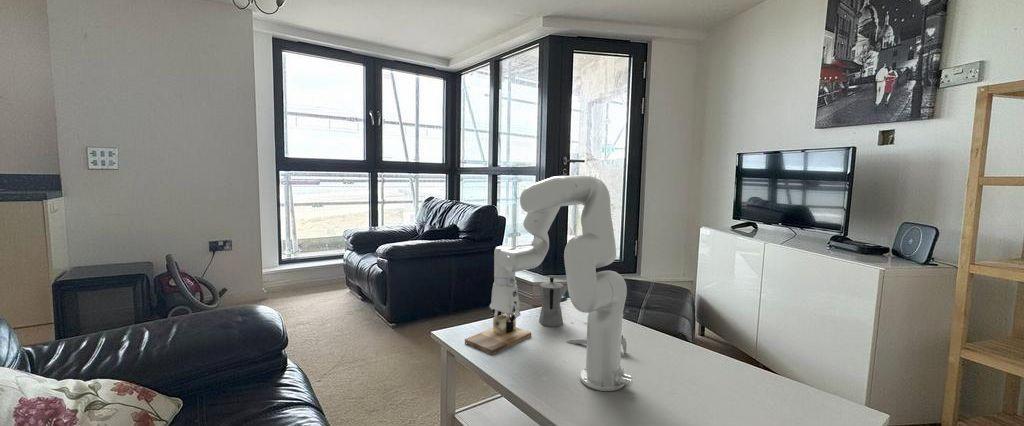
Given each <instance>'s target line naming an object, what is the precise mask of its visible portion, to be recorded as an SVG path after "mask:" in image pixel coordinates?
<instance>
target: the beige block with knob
mask: <svg viewBox="0 0 1024 426" xmlns="http://www.w3.org/2000/svg"><path fill="white" fill-rule="evenodd" d="M510 317H511V314H510ZM516 319H517V318H516ZM516 319H515V320H514V321H513V330H515V329H516V327H517V326H516V324H517V323H516ZM506 322H507V315H506V313H502V315H499V316H497V317H492V324H493V326H492V328H493V331H494V332H497V333H499V334H502V335H503V334H505V333H507V332H506Z"/></svg>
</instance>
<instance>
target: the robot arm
mask: <svg viewBox="0 0 1024 426" xmlns="http://www.w3.org/2000/svg"><path fill="white" fill-rule="evenodd" d="M519 204H520V207H521V209H522V210H523V211H524V212H526V216H525V217H524V220H523V222H522V223H523V224H522V225H523V227H524V230H526V232H527V233H529V234H530V235H532V236H533V240H532V241H531V243H530V245H529V246H527V247H520V248H515V247H514V246H512V245H508V244H507V245H499V246H495V248H494V252H493V253H494V255H493V259H494V260H493V261H494V263H493V264H494V265H493V268H494V269H493V272H494V273H493V277H494V278H493V279H494V281H493V284H492V289H491V302H490V304H489V306H488V307H489V308H490V309H491V310H492V313H493V316H494V317H497V316H499V315H502V314H505V313H506V315H507V322H506V332H507V333H509V332H511V331H513V321H514V320H515V319H517V318H518V317H520V316H521V312H520V295H519V289H518V285H517V282H518V281H517V279H516V273H517V272H518V273H519V272H523V271H525V270H526V271H527V270H530V269H531V270H532V269H536V268H537V267H539V266H540V265H541V264H542V262H543V261H544V259H545V257H546V256H547V254H548V251H549V249H550V238H549V234H548V232H549V230H550V228H551V226H552V224H553V222H554V220H555V219H556V216H557V214H558V213H559V211H560V208H562V207H569V206H578V205H582V206H583V207H582V211H581V216H580V224H581V232H582V233H581V235H576V236H574V237H572V238H570V239H569V240H568V241H567V243H566V245H565V248H564V253H563V259H564V260H563V261H564V267H565V268H564V269H565V278H566V283H567V289H568V290H567V291H568V295H569V299H570V301H571V303H572V305H573V307H574V308H575V309H576V310H577V311H578V312H580V313H583V314H584V313H585V314H588V315H587V322H586V323H587V325H586V339H587V344H586V353H585V354H586V355H585V356H586V358H585V359H586V360H585V368H584V369H582V370H581V372H580V374H579V378H580V381H581V382H582V383H583V385H584V386H587V387H588V388H590V389H594V390H597V391H603V392H613V391H617V390H620V389H622V388H623V387H624V386H626V387H629V388H632V386H633V376H632V375H630V374H626V373H625V372H624V370H625V369H624V368H625V367H624V366H621V359H622V357H621V356H622V344H621V336H622V329H623V316H624V315H623V314H624V308H625V303H626V299H627V294H628V291H627V289H628V288H627V283H626V281H625V279H624V277H623V276H622V275H621V274H620V273H618V272H617V271H613V270H602V271H601V270H600V271H598V272H597V270H596V269H599V268H602V267H606V266H608V265H611V264H612V263H614V262H615V260H616V257H617V247H616V246H617V245H616V240H615V232H614V231H615V230H614V224H613V220H612V219H613V218H612V210H611V209H612V208H611V195H610V193H609V190H608V187H607V185H606V184H605V183H604V182H603V181H602V180H601V179H599V178H597V177H595V176H591V175H582V174H581V175H575V174H574V175H557V176H551V177H548V178H546V179H542V180H541V181H538V182H534V183H531V184H529V185H527V186H526V187H525V188H524V189H523V190H522V191H521V193H520V197H519ZM510 314H511V317H510ZM494 317H493V318H494Z"/></svg>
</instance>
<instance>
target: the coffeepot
mask: <svg viewBox="0 0 1024 426" xmlns="http://www.w3.org/2000/svg"><path fill="white" fill-rule="evenodd" d="M554 279H555V278H554V277H553V276H552V277H549V281H545V282H544V281H543V282H542V283H539V292H540V299H541V302H542V305H541V309H540V312H539V313H540V315H539V320H538V322H539V323H540V325H542V326H545V327H559V326H562V324H563V322H564V321H563V320H564V319H563V314H562V307H561V302H562V298H563V294H564V293H563V292H564V287H565V285H564V284H562V283H561V282H556V281H554Z"/></svg>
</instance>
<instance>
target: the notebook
mask: <svg viewBox="0 0 1024 426" xmlns="http://www.w3.org/2000/svg"><path fill="white" fill-rule="evenodd" d="M531 337H532V332H531V331H528V330H525V329H523V328H519V327H517V326H516V329H515V330H513V331H511V332H509V333H505V334H503V335H502V334H499V333H497V332H494V331H493V327H492V328H489V329H487V330H484V331H482V332H480V333H479V332H478V333H476V334H474V335H471V336H469V337H466V338H464V344H466V343H467V344H466V345H468V344H469V345H468V346H470V345H471V346H470V347H473V346H474V347H473V348H475V347H476V348H475V349H477V348H478V350H480V351H481V352H485V353H486V354H489V355H491V356H492V355H495V354H497V353H499V352H501V351H503V350H505V349H508V348H511V347H512V346H514V345H516V344H518V343H521V342H523V341H525V340H527V339H529V338H531Z"/></svg>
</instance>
